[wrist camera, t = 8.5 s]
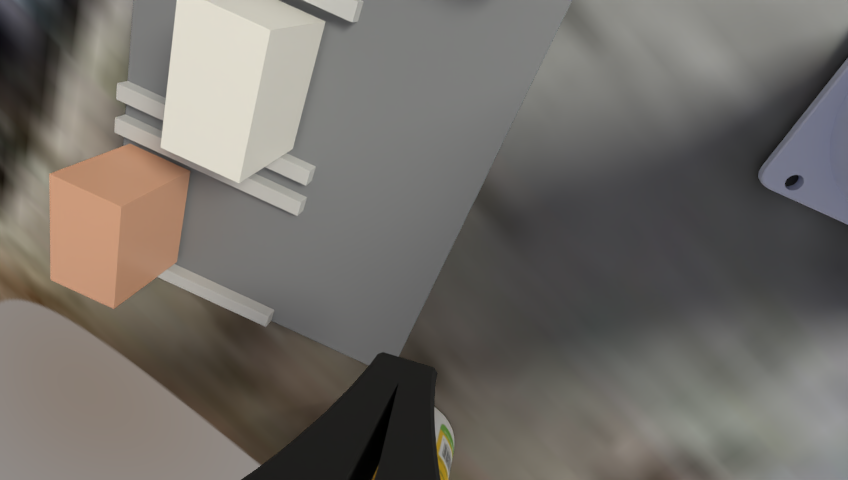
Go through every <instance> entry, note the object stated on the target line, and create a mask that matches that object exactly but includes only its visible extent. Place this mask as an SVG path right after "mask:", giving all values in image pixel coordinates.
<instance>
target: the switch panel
mask: <svg viewBox="0 0 848 480" xmlns="http://www.w3.org/2000/svg"><path fill="white" fill-rule="evenodd" d="M279 1H281V2H284V3H286V4H288V5H290V6H292V7H295V8H297V9H299V10H301V11H303V12H306V13H308V14H310V15H312V16H315V17H317V18H319V19H321V20H323V21H326V22H325V26H324V30H323V33H322V37H321V41H320V45H319V49H318V53H317V57H316V61H315V65H314V68H313V72H312V76H311V80H310V84H309V88H308V92H307V96H306V99H305V103H304V107H303V111H302V115H301V119H300V123H299V127H298V130H297V134H296V138H295V142H294V146H293V149H292V150H290V151H289V152H287V153H286V154H284V155H283V156H281V157H279V158H278V159H276V160H275V161H273V162H272V163H270V164H268V165H267V166H265V167H264V168H262V169H261V170H259V171H258V172H256V173H254V174H253V175H251V176H250V177H248V178H247V179H245V180H243V181H242V182H240V183H237V182H235V181H233V180H231V179H228V178H226V177H224V176H222V175H220V174H217V173H215V172H213V171H211V170H209V169H207V168H204V167H202V166H200V165H198V164H196V163H193V162H191V161H189V160H187V159H185V158H182V157H180V156H178V155H176V154H174V153H171V152H169V151H167V150H165V149H163V148H161V138H162V129H163V120H164V111H165V102H166V93H167V84H168V75H169V66H170V57H171V48H172V39H173V30H174V21H175V12H176V3H177V0H133V13H132V27H131V42H130V56H129V70H128V81H125V82H121V83H117V96H116V99H117V100H119V101H121V102H123V103H125V104H126V113H125V115H122V116H118V117H115V130H114V132H115V133H117V134H119V135H121V136H123V137H124V142H123V146H125V145H128V144H132V145H135V146H137V147H139V148H141V149H143V150H145V151H148V152H150V153H152V154H154V155H156V156H159V157H161V158H163V159H165V160H167V161H170V162H172V163H174V164H176V165H178V166H181V167H183V168H185V169H187V170H189V171H190V177H189V184H188V191H187V198H186V204H185V211H184V218H183V225H182V231H181V238H180V245H179V252H178V258H177V262H176V263H175V264H174V265H172V266H171V267H169V268H168V269H167V270H165V271H164V272H163V273H161V274H160V275H159V276H157V277H158V278H161V279H163V280H165V281H167V282H169V283H171V284H174V285H176V286H178V287H180V288H182V289H184V290H187V291H189V292H191V293H193V294H195V295H198V296H200V297H202V298H204V299H206V300H208V301H211V302H213V303H215V304H217V305H219V306H221V307H224V308H226V309H228V310H230V311H232V312H235V313H237V314H239V315H241V316H243V317H245V318H248V319H250V320H252V321H254V322H256V323H258V324H261V325H263V326H265V327H266V326H267V325H268V324H269V322H270V321H273V322H275V323H277V324H279V325H281V326H284V327H286V328H288V329H290V330H292V331H294V332H297V333H299V334H301V335H303V336H305V337H308V338H310V339H312V340H314V341H316V342H318V343H321V344H323V345H325V346H327V347H329V348H332V349H334V350H336V351H338V352H340V353H342V354H345V355H347V356H349V357H351V358H353V359H355V360H358V361H360V362H362V363H364V364H366V365H370V364H371V362H372V361H373V360H374V358H375V357H376V355H377V354H379V353H382V352H385V353H388V354H391V355H394V356H397V357H399V355H400V353H401V351H402V349H403V347H404V345H405V343H406V341H407V339H408V336H409V334H410V332H411V330H412V328H413V326H414V324H415V322H416V320H417V318H418V316H419V314H420V312H421V310H422V308H423V306H424V304H425V302H426V300H427V297H428V295H429V293H430V291H431V289H432V287H433V285H434V283H435V281H436V279H437V277H438V275H439V273H440V271H441V269H442V267H443V265H444V263H445V261H446V258H447V256H448V254H449V252H450V250H451V248H452V246H453V244H454V242H455V240H456V238H457V236H458V234H459V232H460V230H461V228H462V226H463V224H464V222H465V219H466V217H467V215H468V213H469V211H470V209H471V207H472V205H473V203H474V201H475V199H476V197H477V195H478V193H479V191H480V189H481V187H482V185H483V183H484V180H485V178H486V176H487V174H488V172H489V170H490V168H491V166H492V164H493V162H494V160H495V158H496V156H497V154H498V152H499V150H500V148H501V146H502V144H503V141H504V139H505V137H506V135H507V133H508V131H509V129H510V127H511V125H512V123H513V121H514V119H515V117H516V115H517V113H518V111H519V109H520V107H521V105H522V103H523V100H524V98H525V96H526V94H527V92H528V90H529V88H530V86H531V84H532V82H533V80H534V78H535V76H536V74H537V72H538V70H539V68H540V66H541V64H542V61H543V59H544V57H545V55H546V53H547V51H548V49H549V47H550V45H551V43H552V41H553V39H554V37H555V35H556V33H557V31H558V29H559V27H560V25H561V22H562V20H563V18H564V16H565V14H566V12H567V10H568V8H569V6H570V4H571V2H572V0H279Z"/></svg>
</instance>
